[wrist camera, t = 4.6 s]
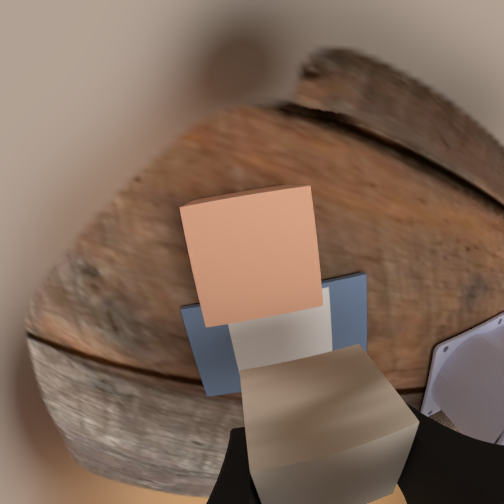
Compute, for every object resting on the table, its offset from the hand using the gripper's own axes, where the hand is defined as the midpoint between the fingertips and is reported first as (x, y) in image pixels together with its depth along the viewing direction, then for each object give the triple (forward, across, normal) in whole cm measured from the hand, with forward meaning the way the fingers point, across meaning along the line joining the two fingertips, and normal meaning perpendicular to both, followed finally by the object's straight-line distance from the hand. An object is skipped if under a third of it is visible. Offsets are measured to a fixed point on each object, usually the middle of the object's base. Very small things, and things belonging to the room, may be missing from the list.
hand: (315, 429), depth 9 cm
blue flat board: (+7, 0, 0) cm, 7 cm away
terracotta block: (+7, +1, -6) cm, 10 cm away
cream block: (+2, 0, 0) cm, 2 cm away
